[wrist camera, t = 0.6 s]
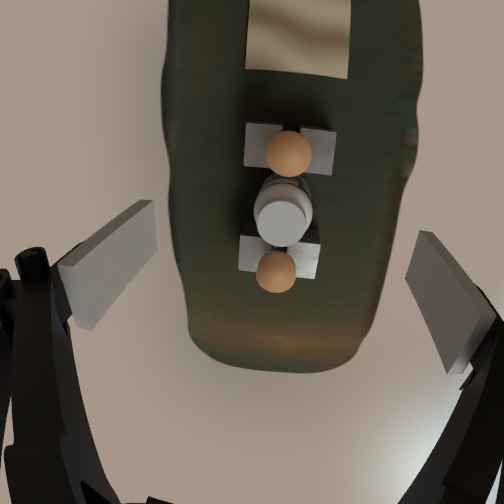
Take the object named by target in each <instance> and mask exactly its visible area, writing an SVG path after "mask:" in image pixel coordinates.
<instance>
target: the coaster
mask: <svg viewBox="0 0 504 504" xmlns="http://www.w3.org/2000/svg"><path fill="white" fill-rule="evenodd" d="M350 12H351V0H250V7H249V21H248V34H247V49H246V64H245V69H255V70H273V71H286V72H297V73H306V74H315V75H322V76H329V77H336V78H342V79H347V71H348V56H349V38H350Z"/></svg>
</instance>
